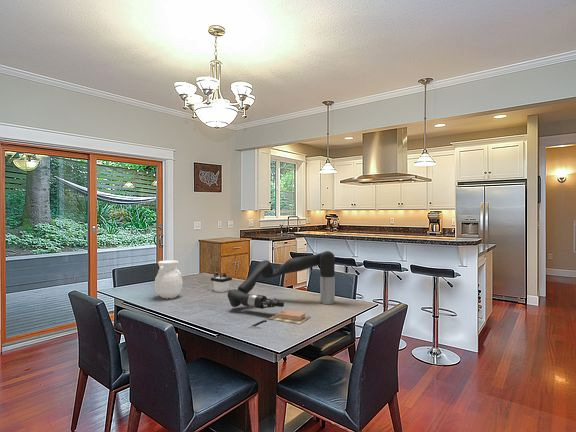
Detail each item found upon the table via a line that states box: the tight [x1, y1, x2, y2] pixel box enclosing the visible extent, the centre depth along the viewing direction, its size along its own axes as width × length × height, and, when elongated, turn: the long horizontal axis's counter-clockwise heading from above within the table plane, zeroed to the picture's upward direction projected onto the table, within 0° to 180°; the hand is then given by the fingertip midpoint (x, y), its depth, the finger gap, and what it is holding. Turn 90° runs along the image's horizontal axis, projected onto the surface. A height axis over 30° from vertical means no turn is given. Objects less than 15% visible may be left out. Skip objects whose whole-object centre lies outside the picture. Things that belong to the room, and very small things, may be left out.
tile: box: [277, 309, 306, 321], centre depth 197 cm, size 2×8×13 cm
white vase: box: [153, 259, 183, 300], centre depth 247 cm, size 19×18×25 cm
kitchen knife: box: [247, 319, 268, 330], centre depth 180 cm, size 29×1×10 cm
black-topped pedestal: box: [210, 272, 233, 293], centre depth 266 cm, size 28×26×13 cm
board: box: [268, 313, 311, 325], centre depth 198 cm, size 19×14×1 cm
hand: (283, 304), depth 199 cm, fingers closed
